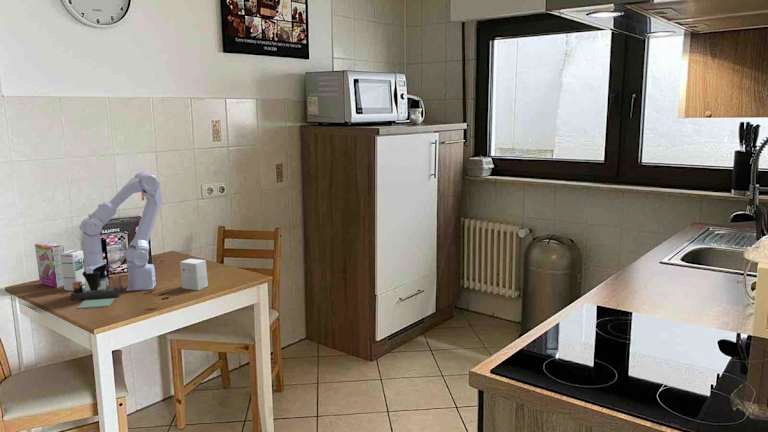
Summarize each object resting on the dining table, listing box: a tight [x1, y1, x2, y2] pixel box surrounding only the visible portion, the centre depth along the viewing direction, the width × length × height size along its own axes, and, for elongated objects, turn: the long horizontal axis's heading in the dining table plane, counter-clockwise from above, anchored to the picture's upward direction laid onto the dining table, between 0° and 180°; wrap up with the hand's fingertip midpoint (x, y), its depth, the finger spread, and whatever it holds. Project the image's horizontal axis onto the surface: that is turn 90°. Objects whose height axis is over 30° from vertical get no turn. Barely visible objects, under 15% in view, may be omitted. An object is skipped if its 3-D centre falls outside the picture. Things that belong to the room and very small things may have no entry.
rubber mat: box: [76, 297, 115, 310], centre depth 205 cm, size 10×8×1 cm
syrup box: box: [60, 249, 87, 292], centre depth 222 cm, size 6×6×14 cm
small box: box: [179, 258, 209, 291], centre depth 221 cm, size 8×6×10 cm
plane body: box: [70, 273, 124, 301], centre depth 213 cm, size 16×7×7 cm, turn 101°
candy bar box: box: [34, 241, 65, 289], centre depth 227 cm, size 11×5×16 cm, turn 61°
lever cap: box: [84, 276, 110, 292], centre depth 213 cm, size 7×4×4 cm, turn 101°
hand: (97, 287), depth 213 cm, fingers open, 7 cm apart
